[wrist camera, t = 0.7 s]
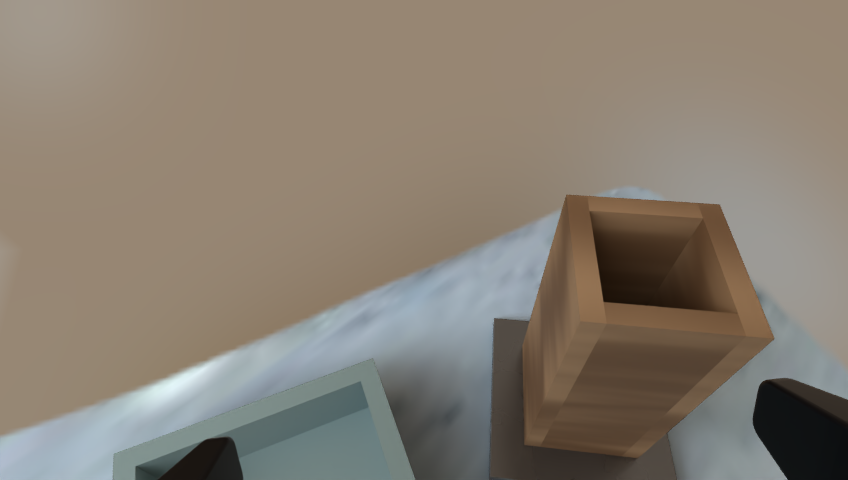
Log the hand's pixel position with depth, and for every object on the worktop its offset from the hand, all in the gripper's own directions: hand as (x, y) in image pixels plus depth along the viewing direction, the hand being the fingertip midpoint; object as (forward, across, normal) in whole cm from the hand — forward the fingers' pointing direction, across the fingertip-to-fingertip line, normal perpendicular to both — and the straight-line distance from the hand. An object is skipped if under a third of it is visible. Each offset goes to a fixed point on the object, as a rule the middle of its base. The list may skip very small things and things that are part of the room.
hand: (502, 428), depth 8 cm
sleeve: (+12, -6, +9) cm, 16 cm away
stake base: (+12, -6, +10) cm, 17 cm away
